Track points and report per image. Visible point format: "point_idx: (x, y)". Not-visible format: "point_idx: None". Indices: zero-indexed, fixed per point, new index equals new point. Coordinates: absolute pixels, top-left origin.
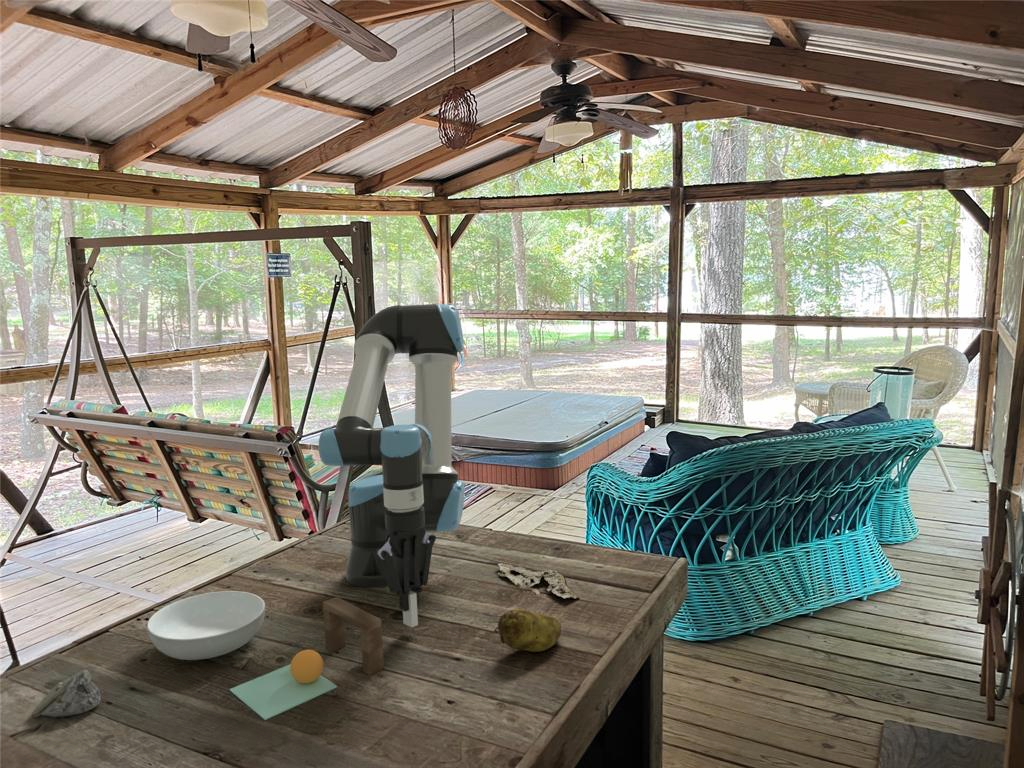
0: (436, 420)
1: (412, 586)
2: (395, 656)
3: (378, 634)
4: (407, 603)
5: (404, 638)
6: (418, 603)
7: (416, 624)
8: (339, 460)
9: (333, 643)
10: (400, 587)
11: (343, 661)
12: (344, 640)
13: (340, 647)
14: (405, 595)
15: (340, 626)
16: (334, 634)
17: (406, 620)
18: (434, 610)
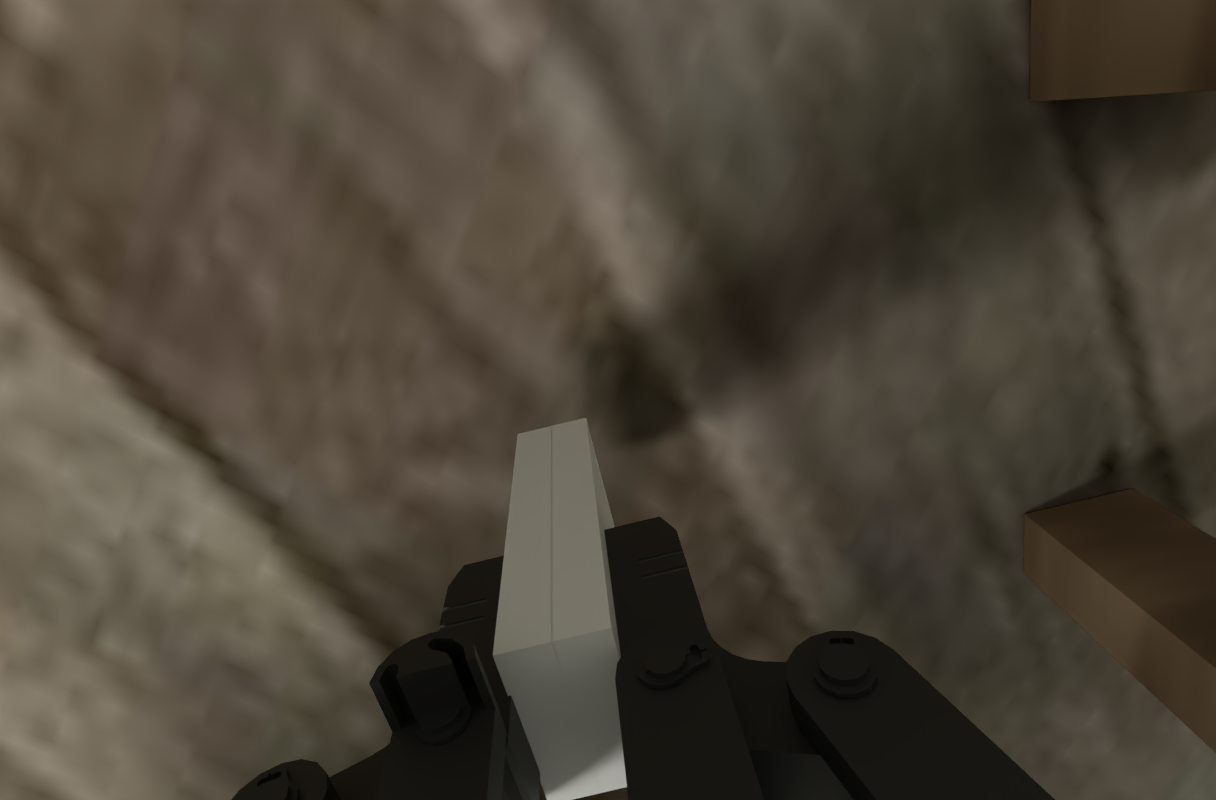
0: None
1: (511, 797)
2: (845, 151)
3: None
4: (628, 578)
5: (644, 397)
6: (466, 581)
7: (534, 434)
8: None
9: (1158, 522)
10: (849, 752)
11: (1162, 317)
12: (1061, 535)
13: (1067, 506)
14: (695, 634)
15: (1188, 608)
16: (1205, 563)
17: (606, 506)
18: (267, 677)
